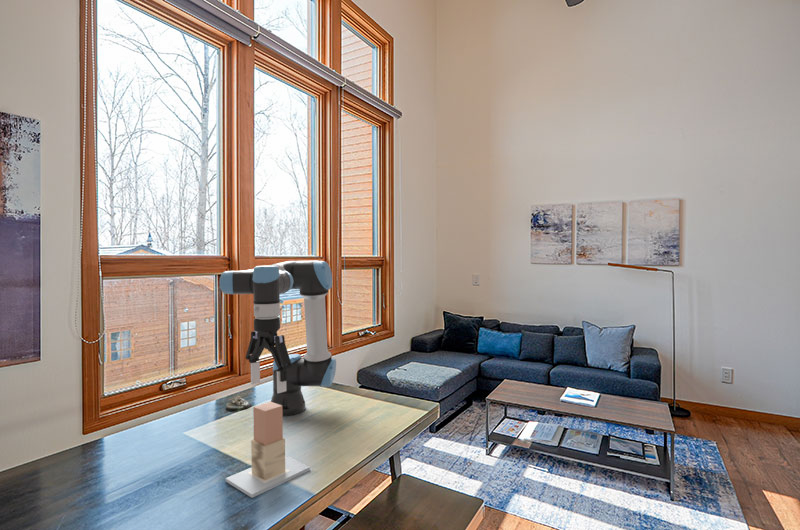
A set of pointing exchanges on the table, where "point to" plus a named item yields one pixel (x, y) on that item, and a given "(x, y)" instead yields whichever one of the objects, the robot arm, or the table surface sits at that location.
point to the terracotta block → (268, 423)
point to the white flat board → (257, 485)
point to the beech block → (268, 458)
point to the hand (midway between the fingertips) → (268, 387)
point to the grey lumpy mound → (238, 404)
